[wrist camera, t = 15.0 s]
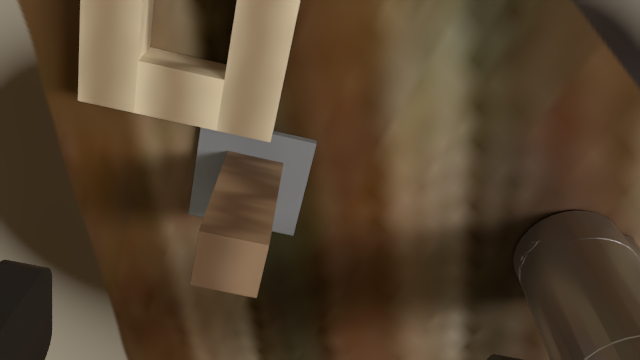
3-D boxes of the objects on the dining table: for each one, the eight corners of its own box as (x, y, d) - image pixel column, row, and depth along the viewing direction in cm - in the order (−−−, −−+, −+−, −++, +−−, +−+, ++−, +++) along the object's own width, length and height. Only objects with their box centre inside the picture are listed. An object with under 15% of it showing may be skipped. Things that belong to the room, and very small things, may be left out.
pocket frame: (313, -63, 39) (311, -56, 37) (274, 125, 46) (270, 142, 44) (100, -116, 38) (82, -112, 35) (93, 85, 45) (77, 100, 42)
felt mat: (316, 140, 47) (316, 143, 46) (293, 231, 51) (293, 235, 51) (203, 115, 46) (201, 118, 45) (190, 210, 50) (188, 214, 50)
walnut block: (283, 163, 47) (269, 245, 38) (272, 209, 49) (256, 298, 40) (227, 150, 47) (198, 231, 37) (219, 197, 49) (190, 284, 39)
